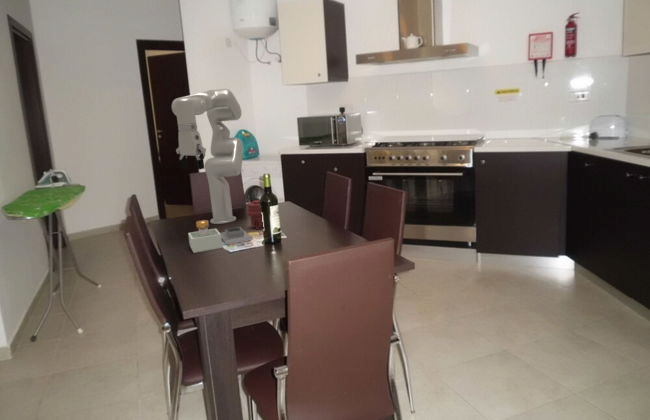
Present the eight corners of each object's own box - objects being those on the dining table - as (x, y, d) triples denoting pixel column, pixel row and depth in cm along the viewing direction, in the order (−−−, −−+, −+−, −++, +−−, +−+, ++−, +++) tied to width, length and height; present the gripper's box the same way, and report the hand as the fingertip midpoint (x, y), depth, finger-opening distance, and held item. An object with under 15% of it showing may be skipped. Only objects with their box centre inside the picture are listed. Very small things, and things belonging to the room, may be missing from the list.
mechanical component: (273, 224, 233) (266, 230, 223) (252, 225, 235) (245, 230, 225) (270, 198, 230) (263, 203, 221) (250, 199, 232) (242, 203, 223)
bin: (190, 246, 207) (188, 232, 205) (217, 241, 211) (216, 228, 209) (193, 252, 196) (191, 239, 195) (222, 247, 200) (220, 234, 199)
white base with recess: (220, 237, 217) (219, 228, 216) (243, 233, 221) (242, 224, 220) (226, 244, 204) (225, 235, 203) (250, 240, 208) (249, 231, 207)
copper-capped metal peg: (205, 243, 207) (202, 219, 205) (213, 244, 204) (210, 220, 202) (196, 246, 203) (193, 222, 200) (205, 247, 200) (202, 223, 198)
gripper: (208, 126, 208) (214, 167, 212) (180, 128, 218) (186, 167, 221) (195, 128, 202) (200, 170, 206) (166, 129, 212) (172, 170, 215)
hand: (193, 168), depth 214 cm, fingers open, 9 cm apart
